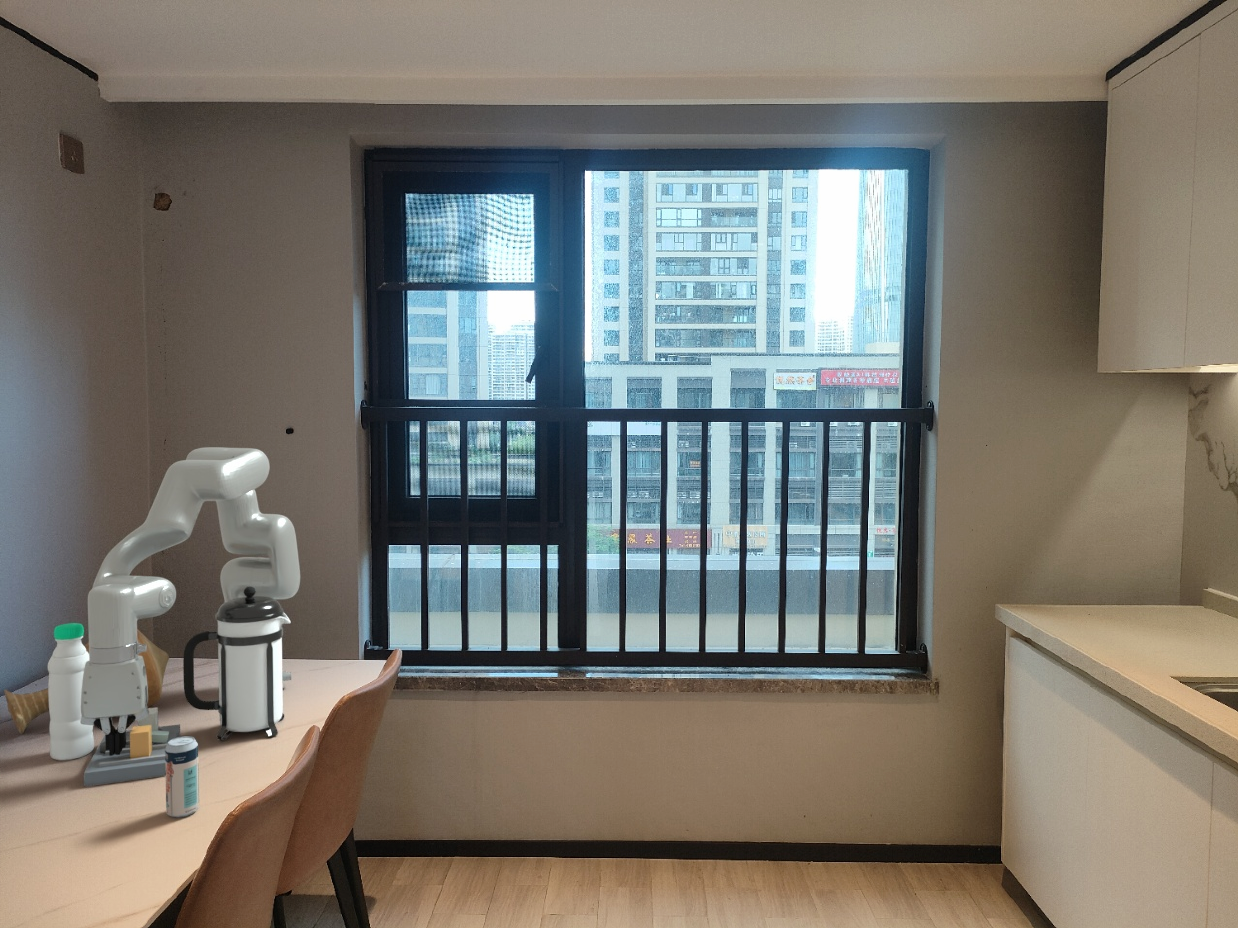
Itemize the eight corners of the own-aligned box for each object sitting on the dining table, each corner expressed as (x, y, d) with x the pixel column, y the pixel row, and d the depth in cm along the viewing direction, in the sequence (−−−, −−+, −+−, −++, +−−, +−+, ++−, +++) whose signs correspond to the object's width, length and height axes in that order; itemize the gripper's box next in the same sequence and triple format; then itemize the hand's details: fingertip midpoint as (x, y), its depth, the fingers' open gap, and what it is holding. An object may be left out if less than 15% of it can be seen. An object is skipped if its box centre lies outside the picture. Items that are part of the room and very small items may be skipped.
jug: (188, 663, 180) (21, 713, 159) (180, 716, 190) (21, 770, 169) (155, 597, 190) (-7, 637, 169) (149, 651, 200) (-5, 695, 179)
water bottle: (102, 749, 163) (99, 622, 162) (68, 763, 157) (64, 631, 155) (76, 744, 166) (72, 619, 164) (41, 758, 159) (37, 627, 157)
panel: (180, 735, 171) (179, 718, 170) (167, 775, 152) (167, 755, 152) (106, 744, 166) (105, 726, 166) (84, 786, 147) (83, 766, 147)
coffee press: (261, 710, 185) (259, 576, 184) (305, 727, 176) (303, 585, 174) (182, 734, 171) (179, 588, 170) (225, 753, 162) (223, 599, 160)
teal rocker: (167, 738, 162) (169, 731, 162) (166, 742, 160) (167, 735, 160) (132, 736, 160) (134, 728, 160) (130, 740, 158) (132, 732, 158)
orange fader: (151, 750, 157) (151, 724, 157) (149, 757, 154) (148, 731, 153) (133, 752, 156) (133, 726, 156) (130, 760, 153) (129, 733, 152)
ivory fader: (158, 731, 166) (157, 707, 166) (155, 738, 163) (155, 713, 163) (141, 733, 165) (140, 708, 165) (138, 740, 162) (137, 715, 162)
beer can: (174, 805, 141) (172, 735, 140) (203, 805, 141) (202, 734, 140) (161, 819, 136) (159, 746, 135) (191, 818, 136) (190, 746, 135)
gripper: (163, 644, 158) (165, 739, 160) (70, 651, 153) (73, 750, 154) (157, 654, 151) (159, 754, 153) (59, 662, 146) (62, 766, 147)
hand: (116, 752), depth 153 cm, fingers closed
